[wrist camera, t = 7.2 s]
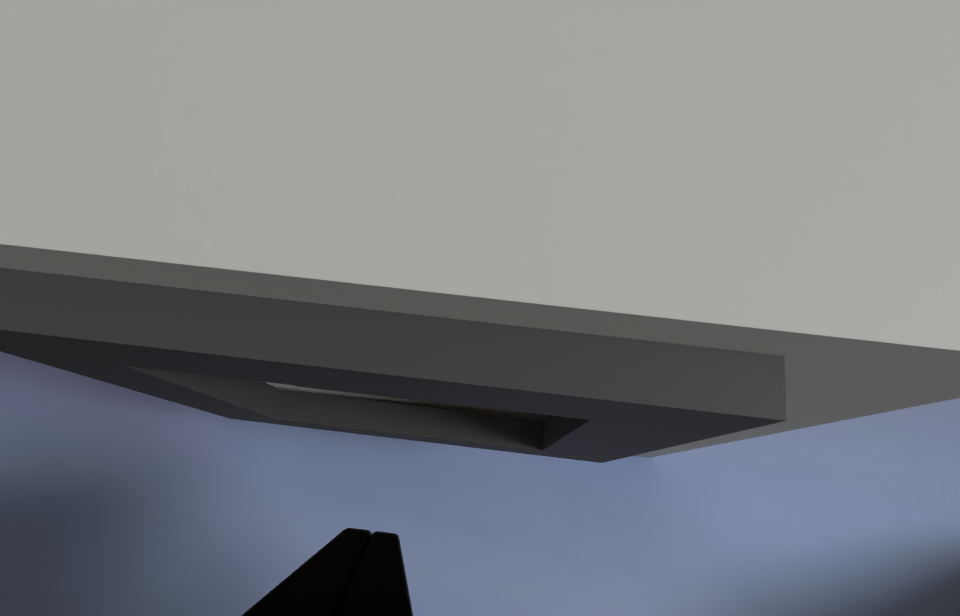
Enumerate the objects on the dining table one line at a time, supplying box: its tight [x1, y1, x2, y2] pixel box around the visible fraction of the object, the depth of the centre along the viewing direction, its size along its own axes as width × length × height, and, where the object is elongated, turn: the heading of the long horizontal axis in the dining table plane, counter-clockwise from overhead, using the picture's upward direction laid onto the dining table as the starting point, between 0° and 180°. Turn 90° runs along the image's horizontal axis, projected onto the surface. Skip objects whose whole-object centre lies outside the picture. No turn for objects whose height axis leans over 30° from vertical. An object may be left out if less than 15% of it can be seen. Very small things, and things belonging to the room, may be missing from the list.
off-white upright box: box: [0, 0, 960, 463], centre depth 13 cm, size 13×13×14 cm
